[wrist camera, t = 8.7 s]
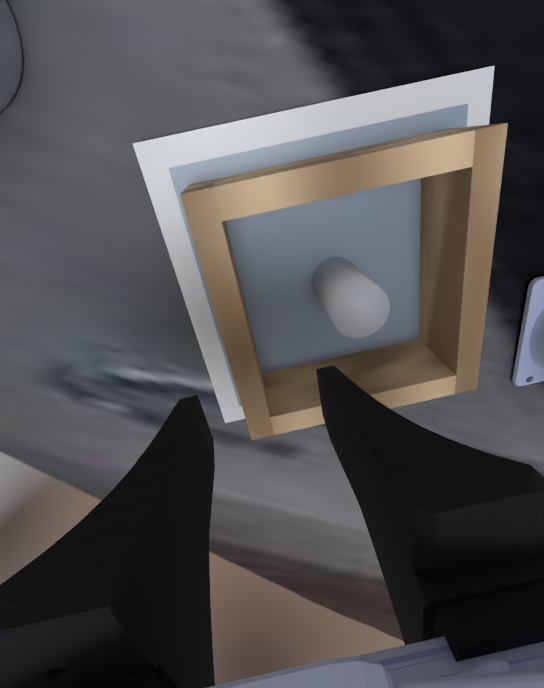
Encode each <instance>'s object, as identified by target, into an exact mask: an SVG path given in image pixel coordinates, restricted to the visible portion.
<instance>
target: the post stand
mask: <svg viewBox="0 0 544 688" xmlns="http://www.w3.org/2000/svg"><path fill="white" fill-rule="evenodd" d="M493 76H494V66H490V67H486V68H481V69H476V70H472V71H467V72H462V73H458V74H453V75H448V76H444V77H439V78H435V79H430V80H425V81H421V82H416V83H411V84H407V85H402V86H397V87H393V88H388V89H383V90H379V91H374V92H370V93H365V94H360V95H356V96H351V97H346V98H342V99H337V100H332V101H328V102H323V103H319V104H314V105H309V106H305V107H300V108H295V109H291V110H286V111H281V112H277V113H272V114H267V115H263V116H258V117H254V118H249V119H244V120H240V121H235V122H230V123H226V124H221V125H216V126H212V127H207V128H202V129H198V130H193V131H189V132H184V133H179V134H175V135H170V136H165V137H161V138H156V139H151V140H147V141H142V142H138V143H133V146H134V149H135V152H136V155H137V158H138V161H139V164H140V167H141V171H142V174H143V177H144V180H145V183H146V186H147V189H148V192H149V195H150V198H151V201H152V204H153V207H154V210H155V213H156V216H157V219H158V222H159V225H160V228H161V231H162V234H163V237H164V240H165V243H166V246H167V249H168V252H169V255H170V258H171V261H172V264H173V267H174V270H175V273H176V276H177V279H178V282H179V285H180V288H181V291H182V294H183V297H184V300H185V303H186V306H187V309H188V312H189V315H190V318H191V321H192V324H193V327H194V330H195V333H196V336H197V339H198V342H199V345H200V348H201V351H202V354H203V358H204V361H205V364H206V367H207V370H208V373H209V376H210V379H211V382H212V385H213V388H214V391H215V394H216V397H217V400H218V403H219V406H220V409H221V412H222V415H223V418H224V421H225V423H228V422H233V421H237V420H241V419H245V415H244V412H243V409H242V405H241V402H240V398H239V395H238V391H237V388H236V385H235V381H234V378H233V374H232V371H231V368H230V364H229V361H228V357H227V354H226V350H225V347H224V344H223V340H222V337H221V333H220V330H219V327H218V323H217V320H216V316H215V313H214V309H213V306H212V303H211V299H210V296H209V292H208V289H207V286H206V282H205V279H204V275H203V272H202V268H201V265H200V262H199V258H198V255H197V251H196V248H195V245H194V241H193V238H192V234H191V231H190V227H189V224H188V221H187V217H186V214H185V210H184V207H183V204H182V200H181V197H180V194H181V193H182V192H183V191H184V190H185V189H186V188H187V187H188V186H189V185H190V184H195V183H200V182H204V181H209V180H213V179H218V178H223V177H227V176H232V175H236V174H241V173H246V172H250V171H255V170H259V169H264V168H269V167H273V166H278V165H282V164H287V163H292V162H296V161H301V160H305V159H310V158H315V157H319V156H324V155H328V154H333V153H338V152H342V151H347V150H351V149H356V148H361V147H365V146H370V145H374V144H379V143H384V142H388V141H393V140H397V139H402V138H407V137H411V136H416V135H420V134H425V133H430V132H434V131H439V130H443V129H449V128H460V127H470V126H481V125H489V119H490V108H491V97H492V87H493ZM420 218H421V178H419V179H414V180H410V181H405V182H401V183H396V184H392V185H387V186H382V187H378V188H373V189H369V190H364V191H360V192H355V193H350V194H346V195H341V196H337V197H332V198H328V199H323V200H318V201H314V202H309V203H305V204H300V205H296V206H291V207H287V208H282V209H277V210H273V211H268V212H264V213H259V214H255V215H250V216H245V217H241V218H236V219H232V220H227V221H226V225H227V229H228V234H229V238H230V242H231V246H232V250H233V254H234V258H235V262H236V267H237V271H238V275H239V279H240V283H241V287H242V291H243V295H244V299H245V304H246V308H247V312H248V316H249V320H250V324H251V328H252V332H253V337H254V341H255V345H256V349H257V353H258V357H259V361H260V365H261V370H262V374H264V373H269V372H273V371H278V370H282V369H287V368H291V367H296V366H300V365H304V364H309V363H313V362H318V361H322V360H327V359H331V358H336V357H340V356H344V355H349V354H353V353H358V352H362V351H367V350H371V349H376V348H380V347H384V346H389V345H393V344H398V343H402V342H407V341H411V340H416V339H419V285H420Z"/></svg>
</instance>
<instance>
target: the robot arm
mask: <svg viewBox="0 0 544 688" xmlns="http://www.w3.org/2000/svg"><path fill="white" fill-rule="evenodd" d="M316 373H317V380H318V387H319V393H320V400H321V407H322V414H323V418H324V421H325V424H326V427H327V430H328V434H329V437H330V440H331V442H332V444H333V447H334V449H335V451H336V453H337V456H338V458H339V460H340V462H341V465H342V467H343V469H344V471H345V473H346V476H347V478H348V480H349V482H350V484H351V487H352V489H353V491H354V493H355V495H356V498H357V500H358V503H359V505H360V508H361V511H362V513H363V516H364V519H365V522H366V525H367V528H368V531H369V534H370V537H371V540H372V543H373V546H374V549H375V552H376V555H377V558H378V561H379V564H380V567H381V570H382V573H383V576H384V579H385V583H386V586H387V589H388V592H389V595H390V598H391V601H392V604H393V608H394V611H395V614H396V617H397V620H398V624H399V627H400V630H401V633H402V636H403V640H404V643H405V645H404V646H400V647H395V648H391V649H387V650H382V651H379V652H374V653H369V654H366V655H361V656H356V657H347V658H337V659H328V660H324V661H320V662H316V663H311V664H307V665H303V666H298V667H294V668H289V669H285V670H281V671H276V672H272V673H268V674H263V675H259V676H255V677H250V678H246V679H242V680H237V681H233V682H229V683H224V684H220V685H216V686H215V681H214V665H213V651H212V630H211V609H210V578H209V529H210V517H211V505H212V493H213V481H214V467H215V464H214V443H213V437H212V434H211V432H210V429H209V426H208V423H207V420H206V418H205V415H204V412H203V409H202V406H201V404H200V401H199V398H198V395H196V396H192V397H187V398H183V399H180V400H179V401H178V403H177V404H176V406H175V407H174V409H173V410H172V412H171V413H170V415H169V417H168V418H167V420H166V421H165V423H164V424H163V426H162V427H161V429H160V430H159V432H158V433H157V435H156V436H155V438H154V439H153V441H152V442H151V443H150V445H149V446H148V448H147V449H146V450H145V451H144V453H143V454H142V455H141V457H140V458H139V459H138V461H137V462H136V463H135V465H134V466H133V467H132V468H131V470H130V471H129V472H128V473H127V474H126V475H125V477H124V478H123V479H122V480H121V481H120V482H119V483H118V484H117V486H116V487H115V488H114V489H113V490H112V491H111V492H110V493H109V494H108V495H107V496H106V497H105V498H104V499H103V500H102V501H101V502H100V503H99V504H98V505H97V506H96V507H95V508H94V509H93V510H92V511H91V512H90V513H89V514H88V515H87V516H86V517H85V518H84V519H82V520H81V521H80V522H79V523H78V524H77V525H76V526H75V527H74V528H72V529H71V530H70V531H69V532H68V533H67V534H66V535H64V536H63V537H62V538H61V539H60V540H58V541H57V542H56V543H55V544H54V545H52V546H51V547H50V548H49V549H47V550H46V551H45V552H44V553H42V554H41V555H40V556H38V557H37V558H36V559H35V560H33V561H32V562H30V563H29V564H28V565H27V566H25V567H24V568H22V569H21V570H20V571H18V572H17V573H16V574H15V575H13V576H12V577H10V578H9V579H8V580H6V581H5V582H4V583H2V584H1V585H0V688H544V477H543V476H542V475H541V474H540V473H539V472H538V471H536V470H535V469H534V468H533V467H532V466H531V465H528V464H524V463H521V462H517V461H514V460H510V459H506V458H503V457H499V456H496V455H492V454H489V453H486V452H483V451H480V450H477V449H474V448H472V447H469V446H466V445H463V444H461V443H458V442H455V441H453V440H450V439H448V438H446V437H443V436H441V435H439V434H436V433H434V432H432V431H430V430H428V429H425V428H423V427H421V426H419V425H417V424H415V423H414V422H412V421H410V420H408V419H406V418H404V417H402V416H401V415H399V414H397V413H396V412H394V411H393V410H391V409H390V408H388V407H386V406H385V405H383V404H382V403H380V402H379V401H378V400H376V399H375V398H373V397H372V396H371V395H369V394H368V393H367V392H365V391H364V390H363V389H361V388H360V387H359V386H358V385H356V384H355V383H354V382H353V381H352V380H350V379H349V378H348V377H347V376H346V375H345V374H343V373H342V372H341V371H340V370H339V369H338V368H337V367H335V366H334V365H333V366H328V367H323V368H319V369H316ZM542 381H544V276H541V277H537V278H535V279H533V280H532V281H531V282H530V284H529V286H528V291H527V297H526V303H525V309H524V315H523V320H522V326H521V332H520V338H519V344H518V349H517V355H516V361H515V367H514V373H513V378H512V382H513V383H514V384H515V385H516V386H524V385H529V384H533V383H537V382H542Z"/></svg>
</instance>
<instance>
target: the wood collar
mask: <svg viewBox="0 0 544 688" xmlns="http://www.w3.org/2000/svg"><path fill="white" fill-rule="evenodd" d="M507 127H508V123H503V124H492V125H481V126H470V127H460V128H449V129H443V130H439V131H434V132H430V133H425V134H420V135H416V136H411V137H407V138H402V139H397V140H393V141H388V142H384V143H379V144H374V145H370V146H365V147H361V148H356V149H351V150H347V151H342V152H338V153H333V154H328V155H324V156H319V157H315V158H310V159H305V160H301V161H296V162H292V163H287V164H282V165H278V166H273V167H269V168H264V169H259V170H255V171H250V172H246V173H241V174H236V175H232V176H227V177H223V178H218V179H213V180H209V181H204V182H200V183H195V184H190V185H189V186H188V187H187V188H186V189H185V190H184V191H183V192H182V193H181V194H180V197H181V200H182V204H183V207H184V210H185V214H186V217H187V221H188V224H189V227H190V231H191V234H192V238H193V241H194V245H195V248H196V251H197V255H198V258H199V262H200V265H201V268H202V272H203V275H204V279H205V282H206V286H207V289H208V292H209V296H210V299H211V303H212V306H213V309H214V313H215V316H216V320H217V323H218V327H219V330H220V333H221V337H222V340H223V344H224V347H225V350H226V354H227V357H228V361H229V364H230V368H231V371H232V374H233V378H234V381H235V385H236V388H237V391H238V395H239V398H240V402H241V405H242V409H243V412H244V415H245V419H246V422H247V426H248V429H249V432H250V436H251V439H252V440H255V439H259V438H264V437H268V436H273V435H277V434H281V433H286V432H290V431H295V430H299V429H303V428H308V427H312V426H317V425H321V424H325V421H324V418H323V414H322V407H321V400H320V393H319V387H318V380H317V373H316V369H319V368H323V367H328V366H333V365H334V366H335V367H337V368H338V369H339V370H340V371H341V372H342V373H343V374H345V375H346V376H347V377H348V378H349V379H350V380H352V381H353V382H354V383H355V384H356V385H358V386H359V387H360V388H361V389H363V390H364V391H365V392H367V393H368V394H369V395H371V396H372V397H373V398H375V399H376V400H378V401H379V402H380V403H382V404H383V405H385V406H386V407H388V408H390V409H391V408H396V407H400V406H404V405H409V404H413V403H418V402H422V401H426V400H431V399H435V398H440V397H444V396H448V395H453V394H457V393H462V392H466V391H470V390H475V389H477V386H478V378H479V369H480V360H481V352H482V343H483V334H484V326H485V317H486V308H487V300H488V291H489V282H490V274H491V265H492V256H493V248H494V239H495V231H496V222H497V213H498V205H499V196H500V187H501V179H502V170H503V161H504V153H505V144H506V135H507ZM419 178H421V218H420V285H419V339H416V340H411V341H407V342H402V343H398V344H393V345H389V346H384V347H380V348H376V349H371V350H367V351H362V352H358V353H353V354H349V355H344V356H340V357H336V358H331V359H327V360H322V361H318V362H313V363H309V364H304V365H300V366H296V367H291V368H287V369H282V370H278V371H273V372H269V373H264V374H262V370H261V365H260V361H259V357H258V353H257V349H256V345H255V341H254V337H253V332H252V328H251V324H250V320H249V316H248V312H247V308H246V304H245V299H244V295H243V291H242V287H241V283H240V279H239V275H238V271H237V267H236V262H235V258H234V254H233V250H232V246H231V242H230V238H229V234H228V229H227V225H226V221H227V220H232V219H236V218H241V217H245V216H250V215H255V214H259V213H264V212H268V211H273V210H277V209H282V208H287V207H291V206H296V205H300V204H305V203H309V202H314V201H318V200H323V199H328V198H332V197H337V196H341V195H346V194H350V193H355V192H360V191H364V190H369V189H373V188H378V187H382V186H387V185H392V184H396V183H401V182H405V181H410V180H414V179H419Z"/></svg>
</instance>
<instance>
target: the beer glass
mask: <svg viewBox="0 0 544 688" xmlns="http://www.w3.org/2000/svg"><path fill="white" fill-rule="evenodd" d="M22 63H23V57H22V46H21V40H20V36H19V32H18V28H17V25H16V22H15V19H14V16H13V14H12V11H11V9H10V7H9V5H8V3H7V1H6V0H0V112H1V111H2V110H3V109H4V108H5V107H6V106H7V105H8V104H9V103H10V102H11V100H12V99H13V97H14V96H15V94H16V91H17V89H18V86H19V83H20V79H21V75H22Z"/></svg>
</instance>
